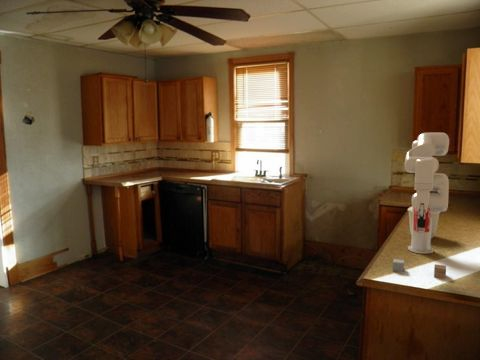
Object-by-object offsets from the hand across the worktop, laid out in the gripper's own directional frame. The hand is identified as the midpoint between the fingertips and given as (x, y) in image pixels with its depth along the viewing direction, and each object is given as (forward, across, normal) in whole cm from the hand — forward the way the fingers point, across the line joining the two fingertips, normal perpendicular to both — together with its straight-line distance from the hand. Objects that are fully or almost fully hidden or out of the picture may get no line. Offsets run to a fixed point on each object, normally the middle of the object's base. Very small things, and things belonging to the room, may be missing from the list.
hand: (421, 225), depth 182 cm
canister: (+24, -64, -1) cm, 69 cm away
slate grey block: (+23, 0, -9) cm, 24 cm away
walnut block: (+23, 0, +8) cm, 24 cm away
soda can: (+3, 0, 0) cm, 3 cm away
